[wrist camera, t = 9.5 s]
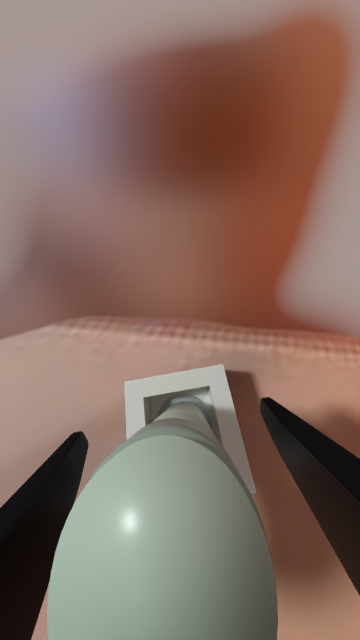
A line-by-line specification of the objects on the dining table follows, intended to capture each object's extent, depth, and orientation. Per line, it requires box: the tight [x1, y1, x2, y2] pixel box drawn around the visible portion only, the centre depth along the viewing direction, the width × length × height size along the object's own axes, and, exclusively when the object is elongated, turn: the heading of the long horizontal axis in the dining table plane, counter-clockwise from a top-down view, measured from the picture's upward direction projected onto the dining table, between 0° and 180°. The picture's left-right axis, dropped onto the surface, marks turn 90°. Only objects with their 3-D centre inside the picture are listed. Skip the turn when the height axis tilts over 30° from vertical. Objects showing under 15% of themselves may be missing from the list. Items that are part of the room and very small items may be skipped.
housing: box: [125, 364, 256, 494], centre depth 15 cm, size 9×9×4 cm
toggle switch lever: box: [47, 401, 278, 640], centre depth 9 cm, size 4×4×13 cm
